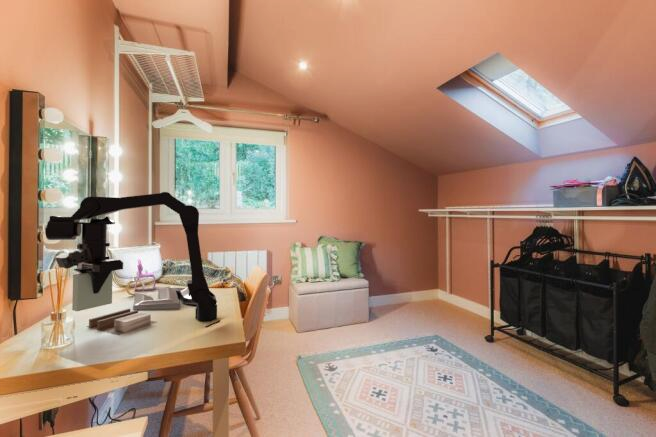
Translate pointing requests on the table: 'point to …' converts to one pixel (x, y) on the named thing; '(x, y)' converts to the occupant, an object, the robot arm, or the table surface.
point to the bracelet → (132, 282)
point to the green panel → (90, 292)
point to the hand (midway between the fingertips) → (93, 292)
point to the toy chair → (143, 274)
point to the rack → (111, 321)
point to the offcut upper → (132, 319)
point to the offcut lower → (132, 326)
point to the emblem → (163, 299)
